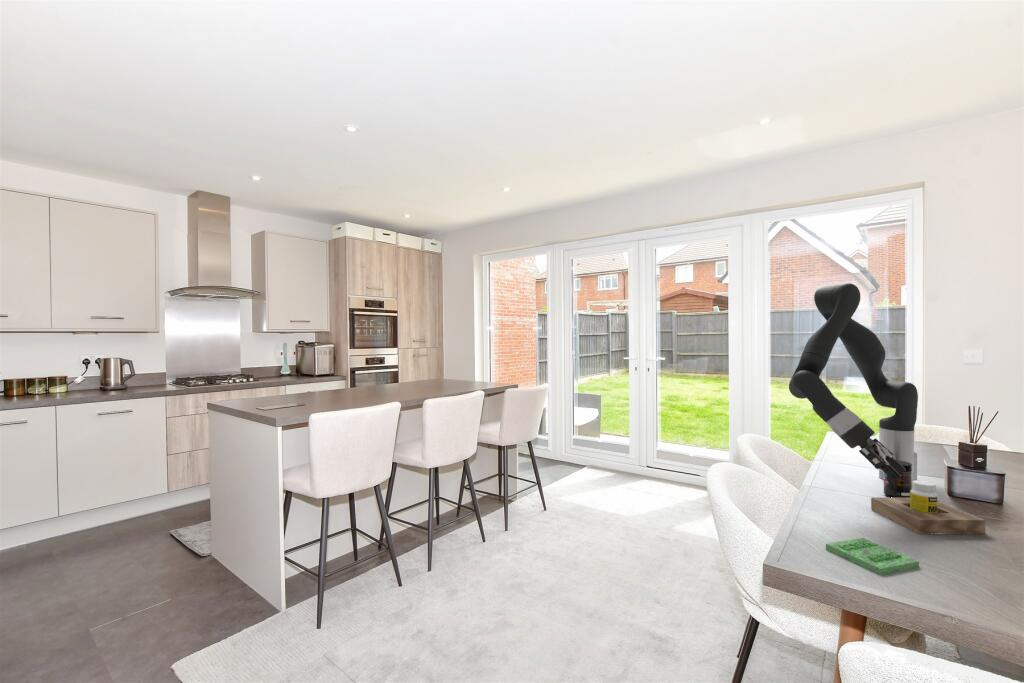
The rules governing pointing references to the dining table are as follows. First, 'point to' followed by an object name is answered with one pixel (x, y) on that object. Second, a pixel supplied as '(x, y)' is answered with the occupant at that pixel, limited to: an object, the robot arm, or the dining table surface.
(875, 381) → the robot arm
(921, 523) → the walnut pocket block
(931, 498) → the supplement bottle
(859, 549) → the green jade tablet
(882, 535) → the dining table surface
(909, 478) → the supplement container
